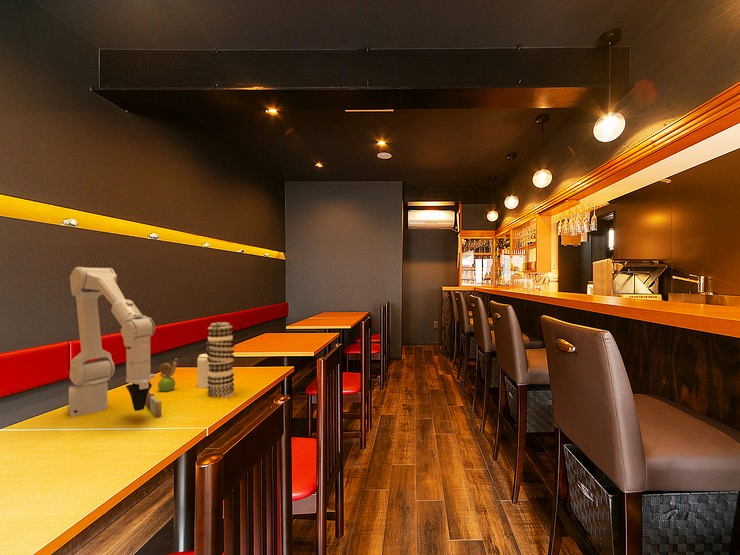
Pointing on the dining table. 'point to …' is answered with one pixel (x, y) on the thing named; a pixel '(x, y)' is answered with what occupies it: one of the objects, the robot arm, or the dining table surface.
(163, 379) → the snail figurine
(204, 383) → the beverage can
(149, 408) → the base
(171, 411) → the dining table surface
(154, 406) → the fence gate
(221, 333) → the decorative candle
